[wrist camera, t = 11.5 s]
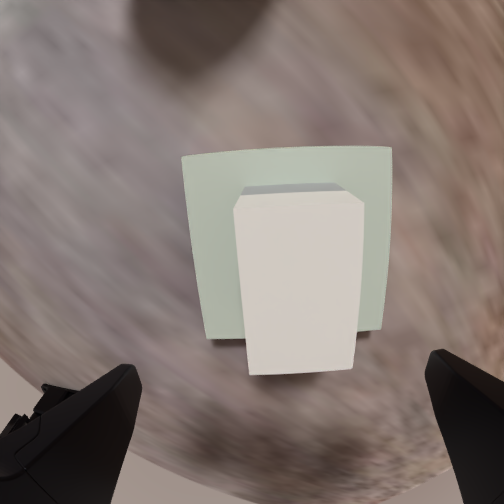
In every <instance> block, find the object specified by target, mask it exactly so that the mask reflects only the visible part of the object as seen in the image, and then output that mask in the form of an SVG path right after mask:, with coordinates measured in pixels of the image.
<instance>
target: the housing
mask: <svg viewBox="0 0 504 504" xmlns="http://www.w3.org/2000/svg"><path fill="white" fill-rule="evenodd" d="M233 214H234V225H235V236H236V247H237V257H238V268H239V278H240V288H241V298H242V308H243V318H244V328H245V338H246V347H247V357H248V366H249V375H270V374H292V373H309V372H322V371H334V370H344V369H352V367H353V359H354V352H355V344H356V335H357V326H358V316H359V305H360V293H361V280H362V263H363V242H364V202H362V201H361V200H359V199H358V198H357V197H355V196H354V195H352V194H351V193H349V192H348V191H346V190H345V189H343V188H342V187H340V186H339V185H337V184H336V183H334V182H329V183H300V184H279V185H261V186H246V187H244V189H243V191H242V193H241V195H240V197H239V199H238V201H237V202H236V204H235V206H234V208H233Z"/></svg>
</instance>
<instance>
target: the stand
mask: <svg viewBox="0 0 504 504" xmlns="http://www.w3.org/2000/svg"><path fill="white" fill-rule="evenodd" d="M181 160H182V169H183V179H184V188H185V196H186V205H187V213H188V221H189V229H190V236H191V244H192V251H193V258H194V265H195V272H196V278H197V285H198V291H199V297H200V304H201V310H202V316H203V321H204V327H205V333H206V338H207V339H244V338H245V328H244V318H243V308H242V298H241V288H240V278H239V268H238V257H237V247H236V236H235V225H234V214H233V208H234V206H235V204H236V202H237V201H238V199H239V197H240V195H241V193H242V191H243V189H244V187H246V186H261V185H279V184H300V183H329V182H334V183H336V184H337V185H339V186H340V187H342V188H343V189H345V190H346V191H348V192H349V193H351V194H352V195H354V196H355V197H357V198H358V199H359V200H361V201H362V202H364V242H363V263H362V280H361V293H360V305H359V316H358V326H357V332H359V331H369V330H378V329H381V324H382V317H383V310H384V302H385V293H386V284H387V274H388V263H389V250H390V234H391V213H392V147H382V146H309V147H283V148H264V149H250V150H237V151H225V152H215V153H205V154H196V155H188V156H183V157H181Z"/></svg>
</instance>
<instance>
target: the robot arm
mask: <svg viewBox="0 0 504 504" xmlns="http://www.w3.org/2000/svg"><path fill="white" fill-rule="evenodd" d="M425 380H426V383H427V387H428V391H429V394H430V398H431V402H432V406H433V410H434V413H435V417H436V420H437V423H438V425H439V428H440V431H441V434H442V436H443V439H444V442H445V445H446V448H447V451H448V454H449V457H450V460H451V463H452V466H453V469H454V472H455V475H456V479H457V482H458V485H459V489H460V492H461V496H462V499H463V503H464V504H504V382H503V381H501V380H499V379H498V378H496V377H494V376H492V375H490V374H489V373H487V372H485V371H483V370H481V369H479V368H478V367H476V366H474V365H472V364H470V363H468V362H467V361H465V360H463V359H461V358H459V357H458V356H456V355H454V354H452V353H450V352H448V351H447V350H445V349H438V350H433V351H432V352H431V353H430V356H429V359H428V363H427V366H426V369H425ZM41 388H42V390H43V392H44V395H43V396H42V398H41V399H40V400H39V402H38V403H37V405H36V406H35V407H34V409H33V411H34V413H33V414H32V416H31V417H30V419H29V418H28V416H26V415H25V414H24V415H23V416H20V415H18V414H15V415H14V416H13V417H12V419H11V420H10V421H9V423H8V424H7V426H6V427H5V429H4V430H3V431H2V433H1V434H0V504H111V500H112V497H113V493H114V490H115V487H116V484H117V480H118V477H119V474H120V470H121V467H122V464H123V461H124V458H125V455H126V452H127V449H128V446H129V443H130V440H131V437H132V433H133V430H134V426H135V421H136V416H137V411H138V407H139V402H140V397H141V393H142V384H141V381H140V378H139V376H138V373H137V370H136V367H135V366H134V365H132V364H120V365H119V366H117V367H116V368H114V369H113V370H111V371H110V372H108V373H107V374H105V375H103V376H102V377H100V378H99V379H97V380H96V381H94V382H93V383H91V384H90V385H88V386H86V387H85V388H83V389H82V390H80V391H76V390H71V389H66V388H61V387H57V386H52V385H48V384H43V385H42V386H41Z"/></svg>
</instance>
